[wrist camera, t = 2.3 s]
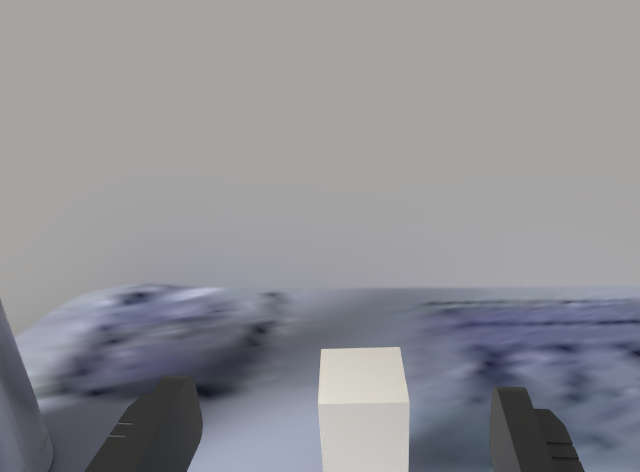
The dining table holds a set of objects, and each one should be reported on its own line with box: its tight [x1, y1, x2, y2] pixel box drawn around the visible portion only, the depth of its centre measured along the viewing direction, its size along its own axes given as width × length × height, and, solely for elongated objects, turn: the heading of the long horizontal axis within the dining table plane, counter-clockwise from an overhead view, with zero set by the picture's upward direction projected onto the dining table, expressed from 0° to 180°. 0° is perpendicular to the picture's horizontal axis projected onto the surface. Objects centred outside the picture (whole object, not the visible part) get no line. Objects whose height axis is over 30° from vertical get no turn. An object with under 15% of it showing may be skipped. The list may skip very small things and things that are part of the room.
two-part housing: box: [318, 347, 409, 472], centre depth 29 cm, size 4×4×10 cm
